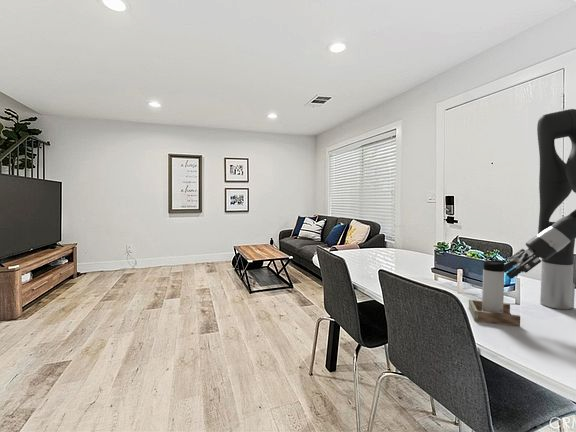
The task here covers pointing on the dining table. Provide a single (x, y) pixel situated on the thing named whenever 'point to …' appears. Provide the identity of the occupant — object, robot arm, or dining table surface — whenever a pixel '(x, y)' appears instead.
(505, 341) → the dining table surface
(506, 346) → the dining table surface
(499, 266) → the travel mug
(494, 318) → the brown wooden tray
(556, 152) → the robot arm
